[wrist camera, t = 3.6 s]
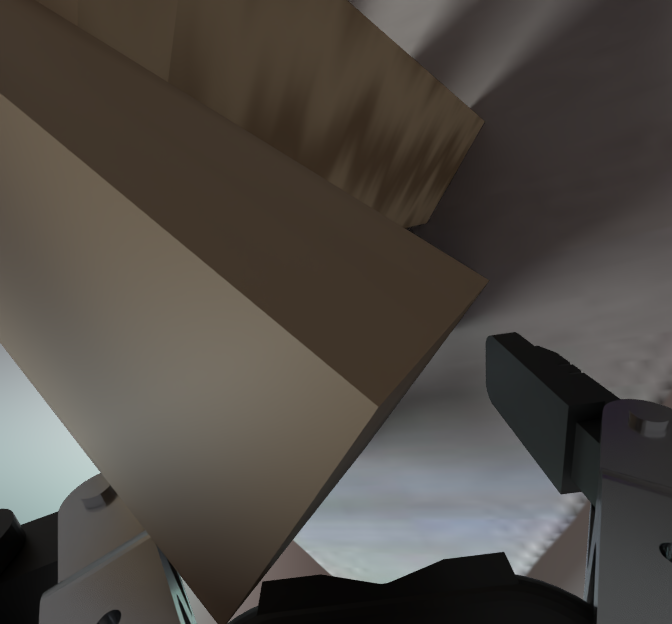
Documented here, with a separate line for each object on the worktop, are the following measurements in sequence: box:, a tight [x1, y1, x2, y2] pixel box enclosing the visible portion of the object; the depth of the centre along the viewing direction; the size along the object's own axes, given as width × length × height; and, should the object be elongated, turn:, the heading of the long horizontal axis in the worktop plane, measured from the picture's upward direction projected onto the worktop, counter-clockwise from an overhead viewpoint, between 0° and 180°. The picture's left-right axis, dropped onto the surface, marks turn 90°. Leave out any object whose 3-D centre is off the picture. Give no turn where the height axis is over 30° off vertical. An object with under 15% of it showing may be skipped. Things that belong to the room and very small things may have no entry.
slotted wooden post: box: [36, 0, 485, 228], centre depth 22 cm, size 10×10×32 cm
